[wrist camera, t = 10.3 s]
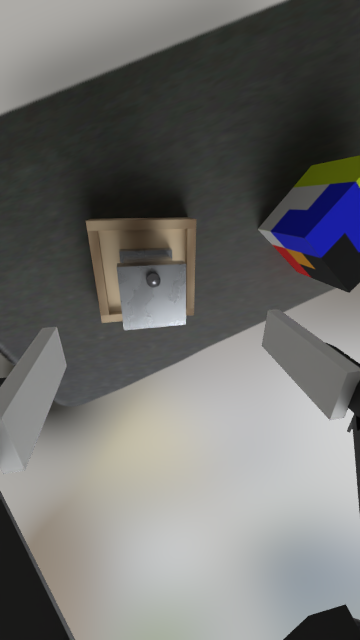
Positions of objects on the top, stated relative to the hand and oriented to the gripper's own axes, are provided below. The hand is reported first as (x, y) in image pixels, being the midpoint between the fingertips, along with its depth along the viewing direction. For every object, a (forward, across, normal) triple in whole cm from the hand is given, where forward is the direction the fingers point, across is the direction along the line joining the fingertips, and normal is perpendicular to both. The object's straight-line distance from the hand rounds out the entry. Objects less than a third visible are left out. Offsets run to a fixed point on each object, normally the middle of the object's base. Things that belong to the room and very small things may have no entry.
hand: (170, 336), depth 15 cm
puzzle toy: (+20, -22, -5) cm, 31 cm away
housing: (+17, +1, 0) cm, 17 cm away
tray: (+20, +1, 0) cm, 20 cm away
